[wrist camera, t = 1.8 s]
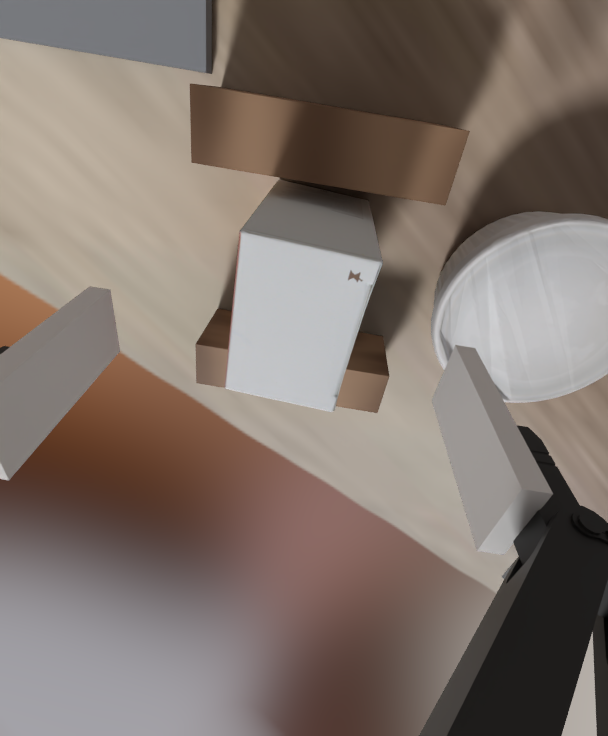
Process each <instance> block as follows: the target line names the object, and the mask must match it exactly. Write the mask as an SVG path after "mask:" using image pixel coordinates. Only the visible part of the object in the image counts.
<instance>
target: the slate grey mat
mask: <svg viewBox="0 0 608 736" xmlns="http://www.w3.org/2000/svg"><path fill="white" fill-rule="evenodd" d="M0 38H4V39H10V40H16V41H22V42H28V43H34V44H40V45H45V46H51V47H57V48H63V49H69V50H75V51H81V52H87V53H92V54H98V55H104V56H110V57H116V58H122V59H128V60H133V61H139V62H145V63H151V64H157V65H163V66H169V67H174V68H180V69H186V70H192V71H198V72H204V73H210V74H212V0H0Z"/></svg>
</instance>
